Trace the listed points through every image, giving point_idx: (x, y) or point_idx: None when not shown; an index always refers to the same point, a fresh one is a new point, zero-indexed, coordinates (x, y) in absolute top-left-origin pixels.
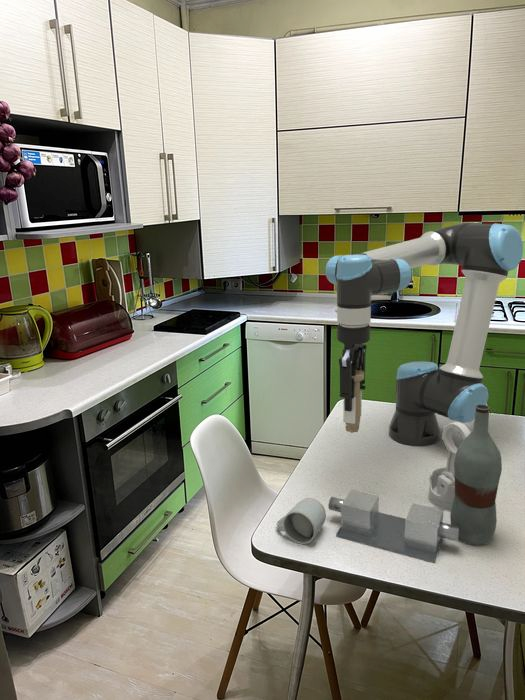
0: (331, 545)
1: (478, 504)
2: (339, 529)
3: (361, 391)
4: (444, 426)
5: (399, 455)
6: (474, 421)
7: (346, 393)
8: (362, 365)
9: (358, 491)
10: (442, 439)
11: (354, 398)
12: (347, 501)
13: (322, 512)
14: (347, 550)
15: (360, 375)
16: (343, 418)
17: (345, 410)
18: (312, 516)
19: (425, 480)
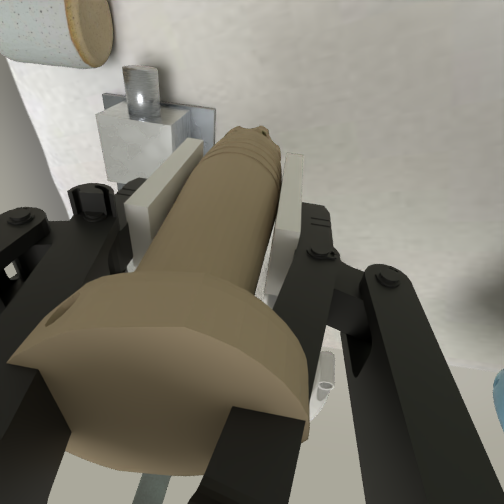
0: (75, 89)
1: None
2: (120, 97)
3: (279, 291)
4: (330, 383)
5: (500, 185)
6: (144, 493)
7: (17, 267)
8: (371, 501)
9: (168, 145)
10: (322, 352)
11: (135, 267)
12: (115, 126)
13: (68, 65)
14: (81, 124)
15: (76, 452)
16: (181, 144)
17: (137, 181)
18: (10, 51)
19: (368, 240)
